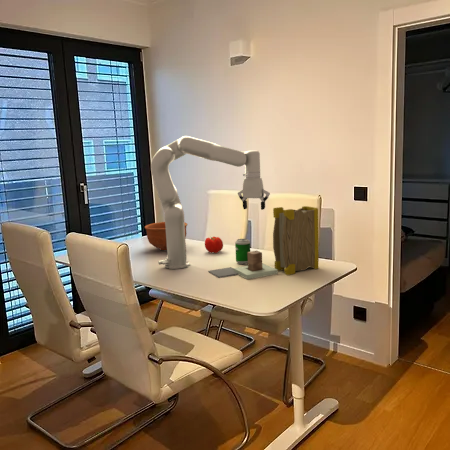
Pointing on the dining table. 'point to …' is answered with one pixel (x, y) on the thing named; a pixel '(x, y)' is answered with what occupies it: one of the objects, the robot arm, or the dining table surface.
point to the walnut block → (254, 261)
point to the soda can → (242, 250)
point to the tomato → (213, 244)
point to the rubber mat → (223, 272)
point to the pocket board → (249, 274)
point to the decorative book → (295, 239)
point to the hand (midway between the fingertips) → (254, 209)
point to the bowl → (158, 234)
